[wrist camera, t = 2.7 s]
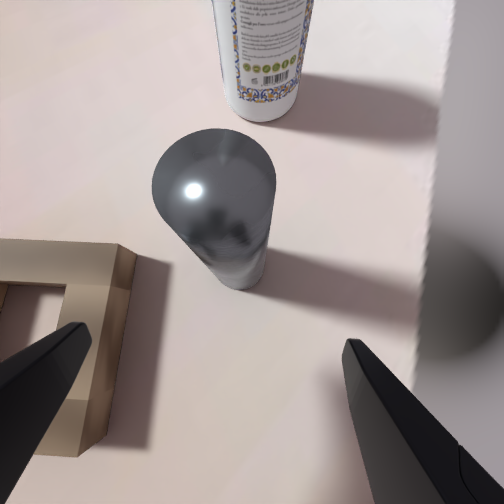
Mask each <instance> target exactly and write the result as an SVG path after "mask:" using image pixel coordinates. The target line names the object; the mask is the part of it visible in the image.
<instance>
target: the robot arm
mask: <svg viewBox="0 0 504 504" xmlns="http://www.w3.org/2000/svg"><path fill="white" fill-rule="evenodd" d="M91 344H92V336H91V334H90V332H89V329H88V327H87V325H86V323H84V322H76V321H74V322H70V323H68V324H66V325H65V326H63V327H61V328H60V329H58V330H56V331H54V332H53V333H51V334H49V335H48V336H46V337H44V338H42V339H41V340H39V341H37V342H35V343H34V344H32V345H30V346H29V347H27V348H25V349H23V350H22V351H20V352H18V353H17V354H15V355H13V356H11V357H10V358H8V359H6V360H4V361H3V362H1V363H0V504H5V502H6V501H7V499H8V497H9V496H10V494H11V492H12V490H13V489H14V487H15V485H16V483H17V482H18V480H19V478H20V477H21V475H22V473H23V471H24V470H25V468H26V466H27V464H28V463H29V461H30V459H31V457H32V456H33V454H34V452H35V451H36V449H37V447H38V445H39V444H40V442H41V440H42V438H43V437H44V435H45V433H46V431H47V430H48V428H49V426H50V425H51V423H52V421H53V419H54V418H55V416H56V414H57V412H58V411H59V409H60V407H61V405H62V404H63V402H64V400H65V399H66V397H67V395H68V393H69V391H70V390H71V388H72V386H73V384H74V382H75V380H76V377H77V375H78V373H79V371H80V369H81V366H82V364H83V362H84V360H85V358H86V356H87V353H88V351H89V349H90V347H91ZM342 365H343V371H344V378H345V384H346V390H347V397H348V403H349V408H350V412H351V416H352V420H353V424H354V428H355V431H356V435H357V439H358V443H359V446H360V450H361V454H362V458H363V461H364V465H365V469H366V472H367V476H368V480H369V484H370V487H371V491H372V495H373V499H374V502H375V504H504V489H503V487H502V486H500V485H499V484H498V483H497V482H496V481H495V480H494V479H493V478H492V477H491V476H490V474H488V472H487V471H486V470H485V469H484V468H483V467H482V466H481V465H480V464H479V463H478V462H477V461H476V460H475V459H474V458H473V457H472V456H471V455H470V454H469V453H468V452H467V451H466V450H465V449H464V448H463V447H462V446H461V445H459V444H458V441H457V440H456V439H455V438H454V437H453V436H452V435H451V434H450V433H449V432H448V431H447V430H446V429H445V428H444V427H443V426H442V425H441V424H440V422H439V421H438V420H437V419H436V418H435V417H434V416H433V415H432V414H431V413H430V412H429V411H428V410H427V409H426V408H425V407H424V406H423V405H422V404H421V402H420V401H419V400H418V399H417V398H416V397H415V396H414V395H413V394H412V393H411V392H410V391H409V390H408V389H407V388H406V387H405V386H404V385H403V384H402V383H401V381H400V380H399V379H398V378H397V377H396V376H395V375H394V374H393V373H392V372H391V371H390V370H389V369H388V368H387V367H386V366H385V365H384V364H383V363H382V361H381V360H380V359H379V358H378V357H377V356H376V355H375V354H374V353H373V352H372V351H371V350H370V349H369V348H368V347H367V346H366V345H365V344H364V343H363V342H362V341H361V340H360V339H351V338H349V339H347V340H346V343H345V346H344V350H343V353H342Z"/></svg>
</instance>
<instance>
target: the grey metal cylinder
mask: <svg viewBox="0 0 504 504" xmlns="http://www.w3.org/2000/svg"><path fill="white" fill-rule="evenodd" d="M275 191H276V173H275V169H274V166H273V163H272V161H271V159H270V157H269V155H268V154H267V152H266V151H265V150H264V149H263V147H262V146H261V145H260V144H258V143H257V142H256V141H255V140H253V139H252V138H250V137H249V136H247V135H244V134H242V133H240V132H237V131H233V130H228V129H206V130H201V131H197V132H194V133H191V134H189V135H187V136H185V137H183V138H181V139H180V140H178V141H176V142H175V143H174V144H173V145H172V146H170V147H169V148H168V149H167V151H166V152H165V153H164V154H163V155H162V157H161V158H160V160H159V162H158V164H157V166H156V168H155V171H154V174H153V178H152V195H153V200H154V203H155V206H156V208H157V210H158V212H159V214H160V215H161V217H162V218H163V219H164V221H165V222H166V223H167V224H168V225H169V226H170V227H171V228H172V229H173V230H174V231H175V232H176V234H177V235H178V236H179V237H180V238H181V239H182V240H183V241H184V242H185V243H186V244H187V245H188V247H189V248H190V249H191V250H192V251H193V252H194V253H195V254H196V255H197V256H198V257H199V258H200V260H201V261H202V262H203V263H204V264H205V265H206V266H207V267H208V268H209V269H210V270H211V271H212V273H213V274H214V275H215V276H216V277H217V278H218V279H219V280H220V281H221V282H222V283H223V284H224V285H225V286H227V287H229V288H231V289H236V290H242V289H247V288H249V287H251V286H253V285H254V284H256V283H257V282H258V281H259V279H260V278H261V276H262V274H263V271H264V265H265V258H266V251H267V245H268V238H269V231H270V225H271V218H272V211H273V205H274V198H275Z"/></svg>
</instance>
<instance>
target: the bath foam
mask: <svg viewBox="0 0 504 504" xmlns="http://www.w3.org/2000/svg"><path fill="white" fill-rule="evenodd" d="M211 1H212V8H213V15H214V22H215V29H216V36H217V44H218V51H219V58H220V65H221V72H222V78H223V85H224V92H225V97H226V100H227V103H228V105H229V106H230V108H231V109H232V110H233V111H234V112H235V113H236V114H237V115H239V116H240V117H242V118H244V119H247V120H250V121H256V122H265V121H271V120H274V119H277V118H279V117H281V116H282V115H284V114H285V113H286V112H287V111H288V110H289V109H290V108H291V107H292V105H293V104H294V102H295V99H296V96H297V91H298V85H299V80H300V75H301V70H302V64H303V59H304V53H305V48H306V42H307V36H308V31H309V25H310V20H311V14H312V9H313V3H314V0H211Z"/></svg>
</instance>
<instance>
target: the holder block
mask: <svg viewBox="0 0 504 504" xmlns="http://www.w3.org/2000/svg"><path fill="white" fill-rule="evenodd" d="M136 257H137V254H136V253H134V252H132V251H130V250H128V249H127V248H125V247H123V246H121V245H119V244H112V243H90V242H67V241H45V240H23V239H0V312H1V309H2V305H3V302H4V298H5V295H6V291H7V288H8V285H26V286H46V287H66V290H65V294H64V299H63V303H62V307H61V311H60V316H59V320H58V324H57V328H56V330H58V329H60V328H61V327H63V326H65V325H66V324H68V323H70V322H74V321H76V322H84V323H86V325H87V327H88V329H89V332H90V334H91V336H92V344H91V347H90V349H89V351H88V353H87V356H86V358H85V360H84V362H83V364H82V366H81V369H80V371H79V373H78V375H77V377H76V380H75V382H74V384H73V386H72V388H71V390H70V391H69V393H68V395H67V397H66V399H65V400H64V402H63V404H62V405H61V407H60V409H59V411H58V412H57V414H56V416H55V418H54V419H53V421H52V423H51V425H50V426H49V428H48V430H47V431H46V433H45V435H44V437H43V438H42V440H41V442H40V444H39V445H38V447H37V449H36V451H35V452H34V455H49V456H63V457H78V456H80V455H81V454H82V453H84V452H85V451H86V450H88V449H89V448H90V447H91V446H93V445H94V444H95V443H97V442H98V441H99V440H101V439H102V438H103V437H104V436H106V434H107V428H108V422H109V416H110V410H111V404H112V398H113V393H114V387H115V381H116V375H117V369H118V363H119V357H120V351H121V345H122V340H123V334H124V328H125V322H126V316H127V310H128V304H129V298H130V292H131V287H132V281H133V275H134V269H135V263H136Z"/></svg>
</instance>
